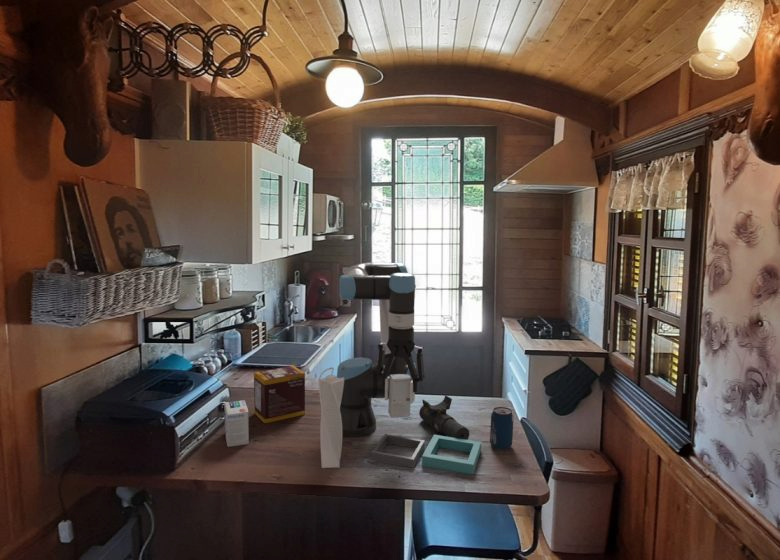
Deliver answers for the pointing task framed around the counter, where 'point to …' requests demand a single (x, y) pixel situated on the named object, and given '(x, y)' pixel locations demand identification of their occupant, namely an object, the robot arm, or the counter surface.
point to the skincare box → (399, 395)
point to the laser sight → (443, 419)
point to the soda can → (501, 428)
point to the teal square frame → (448, 462)
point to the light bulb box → (236, 423)
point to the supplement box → (279, 393)
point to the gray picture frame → (398, 459)
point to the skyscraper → (330, 419)
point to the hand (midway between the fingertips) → (399, 400)
